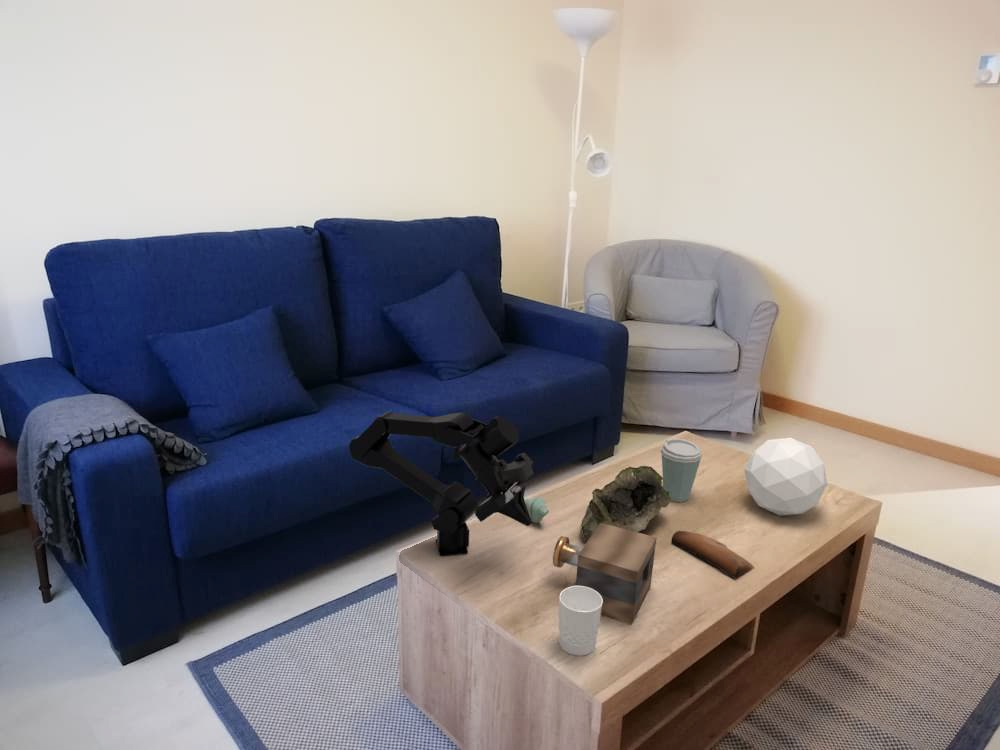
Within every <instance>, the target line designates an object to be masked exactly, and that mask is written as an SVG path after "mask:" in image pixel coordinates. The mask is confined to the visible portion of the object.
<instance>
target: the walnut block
mask: <svg viewBox="0 0 1000 750" xmlns="http://www.w3.org/2000/svg"><path fill="white" fill-rule="evenodd" d="M656 545H657V537H656V536H652V535H649V534H648V535H647V534H644V533H641V532H639V531H638V532H634V531H630V530H626V529H622V528H619V527H615V526H611V525H607V524H603V523H600V524H599V526H598V527H597V529H596V530H595V532H594V533H593V534H592V536H591V537H590V539H589V540H588V542H587V541H586V543H585V544H584V546H582V548H583V549H582V550H581V552H580V553H579V555H578V564H577V566H576V577H575V586H585V587H589V588H591V589H594V590H595V591H597V592H598V593H599V594H600V595H601V597H602V599H603V604H602V610H601V616H603V617H605V618H609V619H612V620H615V621H619V622H622V623H625V624H629V625H630V626H632V625H633V624H634V622H635V620H636V618H637V616H638V614H639V612H640V610H641V607H642V605H643V604H644V601H645V599H646V597H647V595H648V593H649V591H650V589H651V586H652V578H653V569H654V560H655V553H656Z"/></svg>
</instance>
